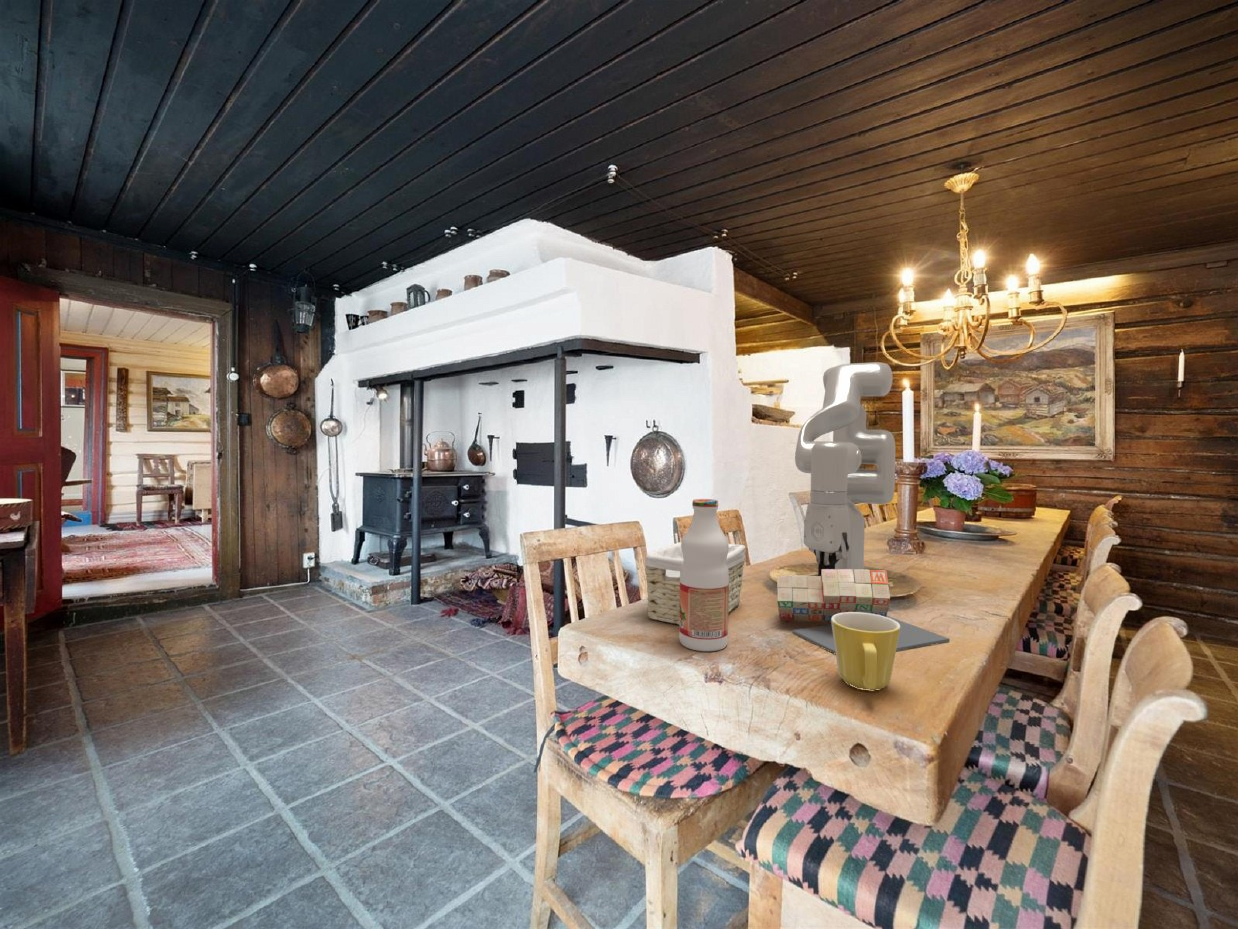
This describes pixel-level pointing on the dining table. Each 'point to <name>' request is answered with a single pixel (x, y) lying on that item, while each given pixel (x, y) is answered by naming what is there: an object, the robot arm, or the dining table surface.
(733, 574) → the storage basket
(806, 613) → the stack of blocks
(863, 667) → the mug
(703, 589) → the fruit juice
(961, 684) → the dining table surface
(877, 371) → the robot arm
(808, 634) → the rubber mat
